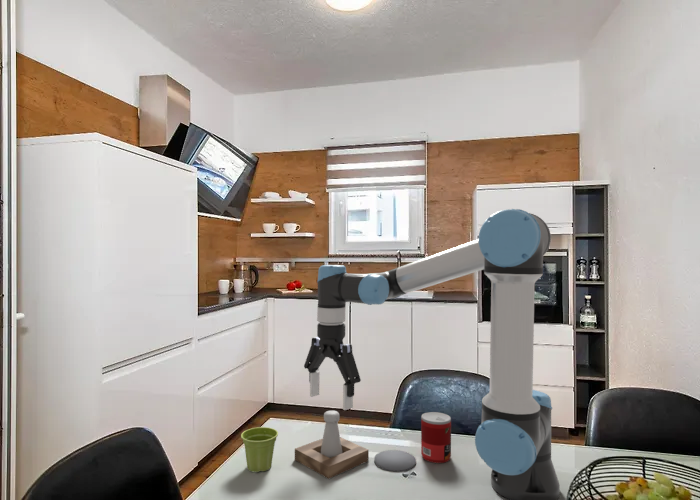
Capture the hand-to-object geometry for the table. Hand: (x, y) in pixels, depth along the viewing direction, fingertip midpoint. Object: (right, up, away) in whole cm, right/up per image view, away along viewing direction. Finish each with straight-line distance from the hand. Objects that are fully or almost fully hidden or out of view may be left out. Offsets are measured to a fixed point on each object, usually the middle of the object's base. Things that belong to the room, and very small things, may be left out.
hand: (330, 402), depth 122 cm
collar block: (0, -16, 0) cm, 16 cm away
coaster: (+17, -16, -1) cm, 23 cm away
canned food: (+29, -16, +2) cm, 33 cm away
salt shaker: (0, -16, 0) cm, 16 cm away
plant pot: (-18, -16, -4) cm, 24 cm away
